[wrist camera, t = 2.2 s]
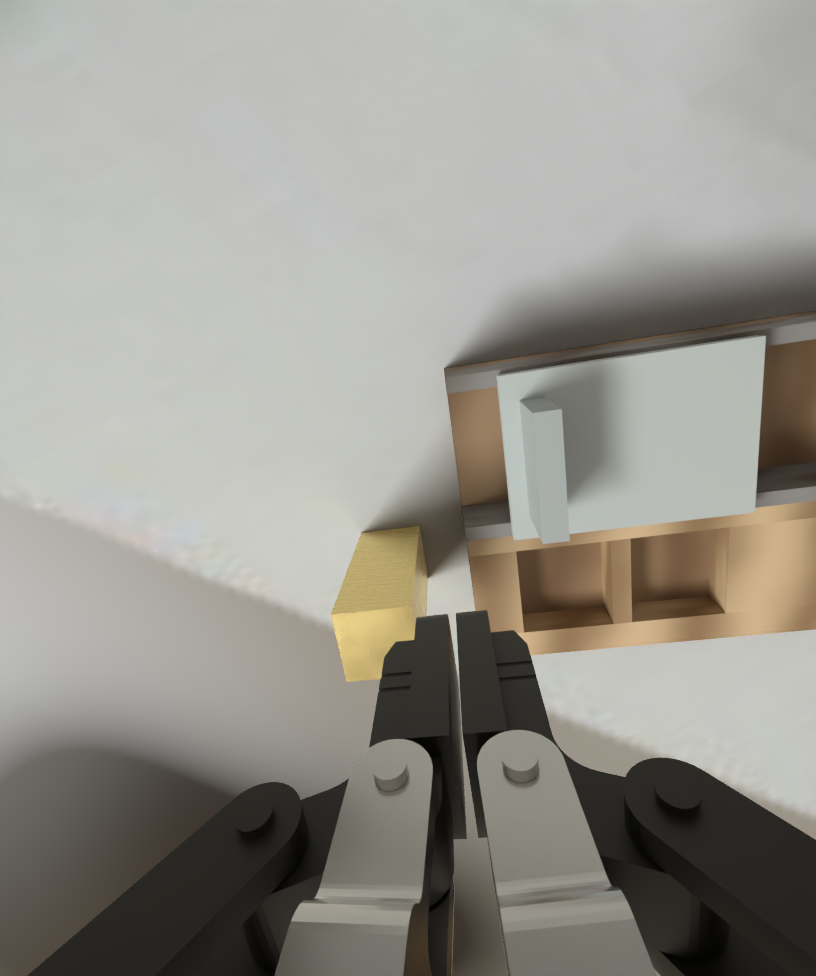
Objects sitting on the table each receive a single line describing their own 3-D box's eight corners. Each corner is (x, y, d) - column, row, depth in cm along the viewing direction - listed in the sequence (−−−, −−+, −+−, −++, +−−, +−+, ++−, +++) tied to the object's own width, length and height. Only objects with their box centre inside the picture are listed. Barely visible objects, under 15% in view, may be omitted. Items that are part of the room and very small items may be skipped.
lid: (755, 335, 23) (823, 337, 19) (745, 506, 26) (803, 541, 22) (496, 374, 24) (507, 385, 20) (512, 534, 27) (524, 571, 23)
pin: (419, 525, 33) (411, 606, 24) (427, 578, 34) (423, 674, 25) (361, 532, 34) (331, 614, 24) (371, 584, 35) (346, 681, 25)
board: (934, 292, 27) (1053, 284, 22) (888, 582, 32) (974, 632, 27) (444, 368, 30) (445, 378, 25) (477, 623, 35) (484, 675, 30)
